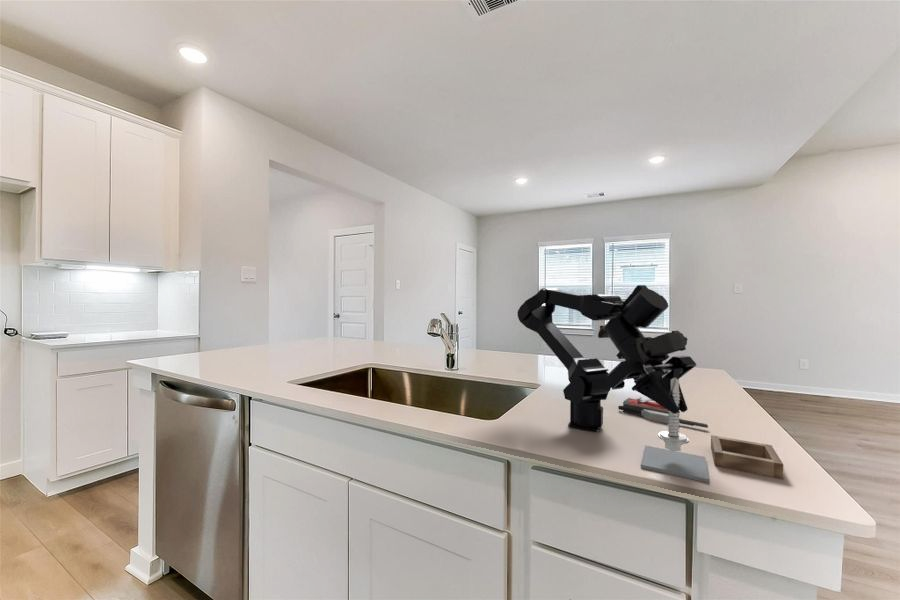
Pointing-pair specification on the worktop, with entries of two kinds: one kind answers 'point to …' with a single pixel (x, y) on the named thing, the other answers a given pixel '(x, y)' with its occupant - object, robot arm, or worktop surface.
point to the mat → (675, 463)
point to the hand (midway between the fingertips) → (681, 411)
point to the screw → (673, 423)
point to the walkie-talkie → (652, 411)
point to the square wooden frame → (746, 456)
